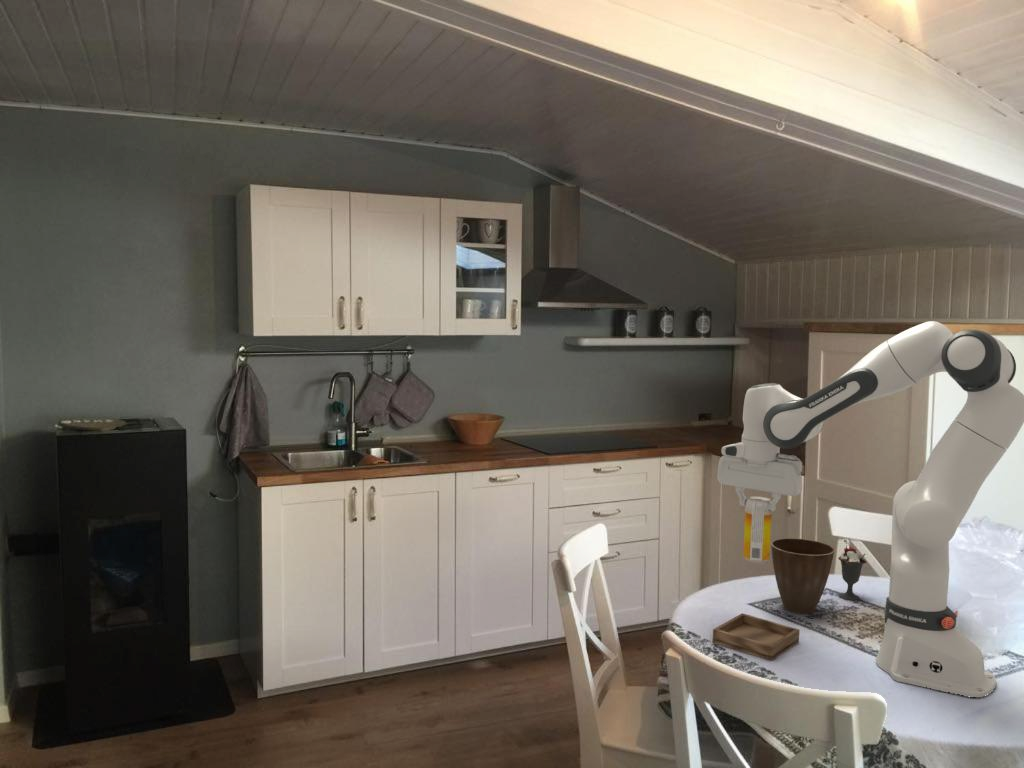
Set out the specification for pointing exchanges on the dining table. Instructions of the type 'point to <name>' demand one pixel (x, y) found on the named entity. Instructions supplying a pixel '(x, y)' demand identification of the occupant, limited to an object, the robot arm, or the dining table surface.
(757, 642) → the walnut tray
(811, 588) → the plant pot
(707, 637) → the dining table surface
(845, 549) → the sundae
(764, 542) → the beer can
